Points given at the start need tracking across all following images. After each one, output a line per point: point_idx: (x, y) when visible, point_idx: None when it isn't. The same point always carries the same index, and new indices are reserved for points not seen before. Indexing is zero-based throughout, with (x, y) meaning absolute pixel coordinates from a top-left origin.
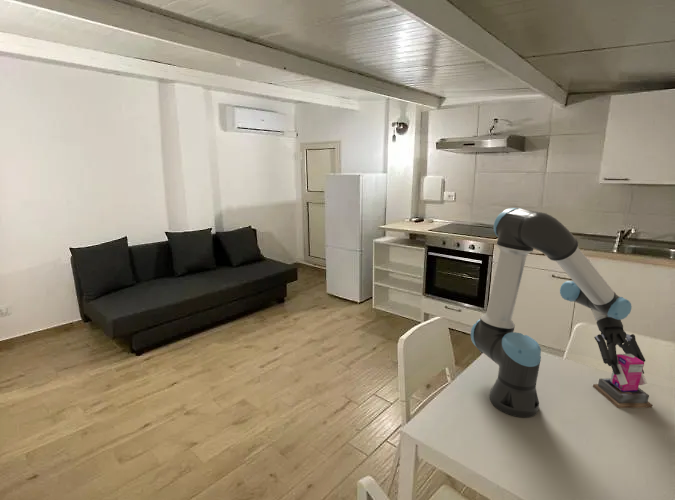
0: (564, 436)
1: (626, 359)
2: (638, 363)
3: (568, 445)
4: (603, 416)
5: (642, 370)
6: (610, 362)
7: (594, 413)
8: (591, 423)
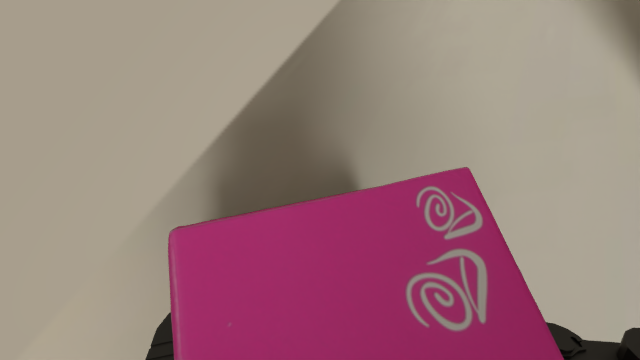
0: (600, 45)
1: (489, 274)
2: (300, 202)
3: (591, 18)
4: (463, 146)
5: (164, 342)
6: (608, 346)
7: (493, 160)
8: (516, 104)
